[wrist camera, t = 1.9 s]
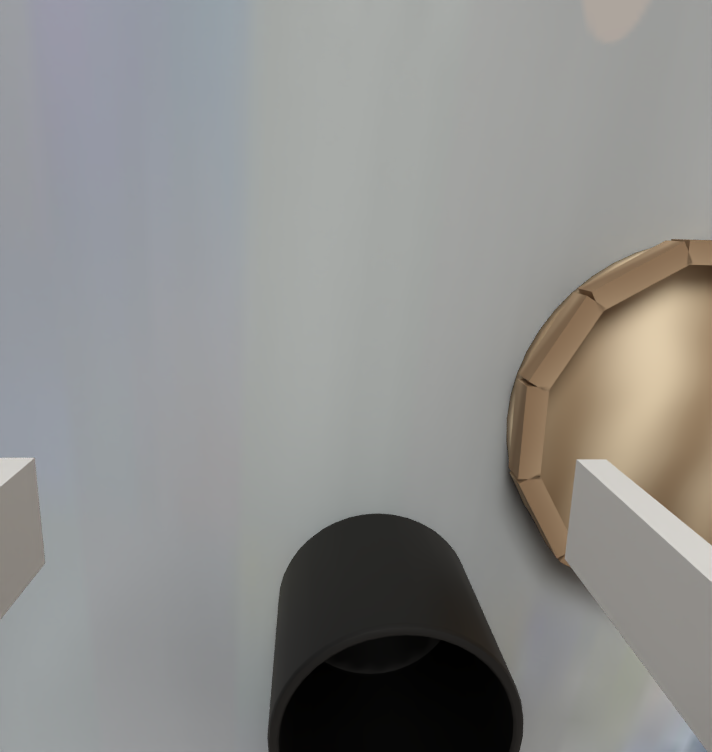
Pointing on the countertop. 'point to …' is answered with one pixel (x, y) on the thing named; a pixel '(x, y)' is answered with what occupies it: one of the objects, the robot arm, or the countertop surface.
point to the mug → (386, 648)
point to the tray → (621, 389)
